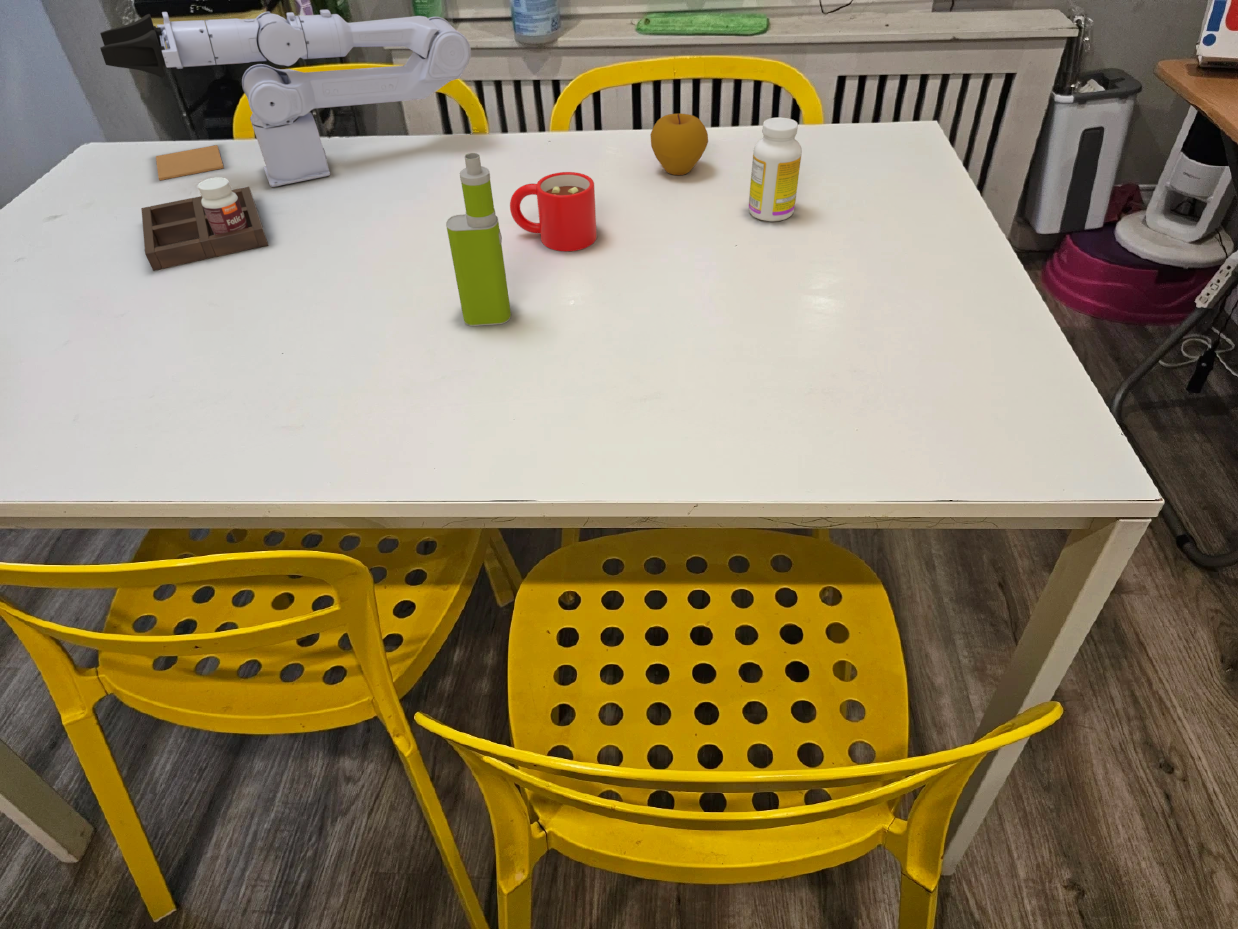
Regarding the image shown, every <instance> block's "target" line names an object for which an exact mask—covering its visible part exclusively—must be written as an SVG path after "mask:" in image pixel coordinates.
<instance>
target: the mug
mask: <svg viewBox="0 0 1238 929" xmlns="http://www.w3.org/2000/svg"><path fill="white" fill-rule="evenodd" d="M595 193H596V192H595V182H594V179H593V178H591V177H590V176H589V175H586V174H585V173H581V172H575V171H561V172H554V173H550V174H547V175H545V176H543V177H541V178H540V179H538V180H537V182H536V183H527V184H523V185H522V186H519V187H518V188H517V189H515V191H514V192H513V193H512V196H511V197H510V200H509V210H510V214H511V217H512V219H513V221H514V223H516V225H517V226H518V227H519V228H521V229H522V230H524V231H525V232H527V233H531V234H538V235H539V234H540V240H541V243H542V244H543V246H544V247H546V248H548V249H550V250H553V251H557V252H575V251H580V250H585V249H586V248H588V247H590V246H591V245H593V244H594V243H595V242H596V240H597V236H598V234H597V216H596V214H597V213H596V212H597V211H596V194H595ZM533 195H535V196H536V201H537V202H536V203H537V212H538V220H539V222H533V221H531V220H529V219H527V218H526V217H525V216H524V215H523V213H522V211H521V204H522V201H523V200H524V199H525V197H529V196H533Z"/></svg>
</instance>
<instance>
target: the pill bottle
mask: <svg viewBox="0 0 1238 929" xmlns="http://www.w3.org/2000/svg"><path fill="white" fill-rule="evenodd" d="M197 188H198V192H199V194H200V196H202V197H203V198H202V200H201V203H202V206H203V208H204V211H205V213H206V216H207V218H208V221H209V223H210V226H211V228H212V231H213V233H214V235H217V234H222V233H226V232H231V231H236V230H240V229H245V228H250V227H248V224H247V221H246V219H245V216H244V213H243V211H242V208H241V205H240V202H239V199H238V197H237V195H236V194H235V193H234V192H232V190H233V188H232V185H231V183H230V180H229V179H228V178H225V177H221V176H217V177H210V178H206V179H203V180H202V181H200V182H199V183H198V184H197Z"/></svg>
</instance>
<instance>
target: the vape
mask: <svg viewBox="0 0 1238 929" xmlns="http://www.w3.org/2000/svg"><path fill="white" fill-rule="evenodd" d="M463 157H464V163H465V168H462V169H460V171H459V179H460V184H461V189H462V190H461V191H462V196H463V202H464V209H465V214H455V215H452V216H450V217H448V219H446V222H445V227H446V231H447V236H448V242H449V248H450V253H451V260H452V264H453V269H454V275H455V280H456V285H457V292H458V297H459V302H460V308H461V314H462V318H463V322H464V324H466V325H467V326H470V327H478V326H492V325H493V326H494V325H495V326H496V325H503V324H506V323H507V322H509V320H510V319H511V317H512V313H511V311H512V310H511V305H510V304H511V303H510V297H509V289H508V282H507V275H506V274H507V273H506V267H505V260H504V251H503V245H502V242H503V236H502V232H501V228H500V222H499V217H498V216H497V214H496V209H495V205H494V198H493V197H494V196H493V190H492V183H491V173H490V170H489V168H488V167H485V166H482V164H481V156H480V154H479V153H477V152H469V153H467V154H465V155H464V156H463Z"/></svg>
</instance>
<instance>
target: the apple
mask: <svg viewBox="0 0 1238 929" xmlns="http://www.w3.org/2000/svg"><path fill="white" fill-rule="evenodd" d="M649 136H650V146H651V149H652V151H653V154H654V156H655V158H656V160H657V161H658V163H659V164H660V166H661V167H662V168H663V170H664V171H665V172H666V173H667V174H670V175H673V176H684V175H686V174H688V173H690V172H691V171H692V170H693V168H694V167H695V166H696V165H697V163H698V162H699V161H700V159H701V158H702V156H703V155H704V152H706V149H707V147H708V143H709V134H708V131H707V128H706V126H705V124H704V123H703V122H702V121H701V119H699V118H698V117H697V116H695V115H692V114H689V113H669V114H665V115H663V116H661V117H660V118H659V119H658V120H657V121H656V123H655V124H654V125H653V127H652V129H651V132H650V135H649Z"/></svg>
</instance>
